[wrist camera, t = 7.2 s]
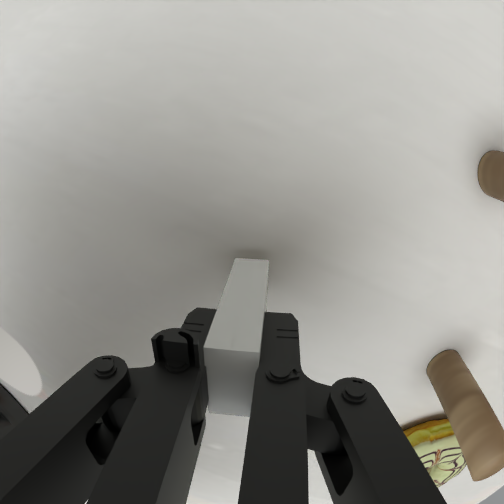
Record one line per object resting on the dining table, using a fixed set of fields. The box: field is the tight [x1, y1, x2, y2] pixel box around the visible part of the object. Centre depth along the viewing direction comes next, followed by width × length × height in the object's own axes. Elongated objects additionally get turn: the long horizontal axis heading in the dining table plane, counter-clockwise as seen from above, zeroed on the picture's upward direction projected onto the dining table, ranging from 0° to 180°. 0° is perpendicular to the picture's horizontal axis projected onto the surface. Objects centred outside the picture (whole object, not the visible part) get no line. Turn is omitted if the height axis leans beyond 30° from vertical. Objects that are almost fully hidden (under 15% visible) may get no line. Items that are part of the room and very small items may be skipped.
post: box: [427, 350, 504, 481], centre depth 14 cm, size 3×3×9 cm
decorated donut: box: [403, 419, 467, 488], centre depth 20 cm, size 10×11×4 cm
